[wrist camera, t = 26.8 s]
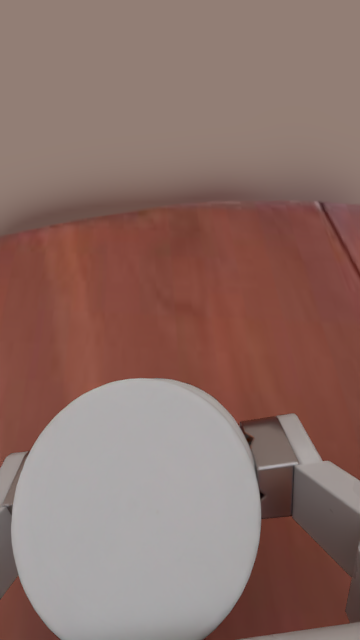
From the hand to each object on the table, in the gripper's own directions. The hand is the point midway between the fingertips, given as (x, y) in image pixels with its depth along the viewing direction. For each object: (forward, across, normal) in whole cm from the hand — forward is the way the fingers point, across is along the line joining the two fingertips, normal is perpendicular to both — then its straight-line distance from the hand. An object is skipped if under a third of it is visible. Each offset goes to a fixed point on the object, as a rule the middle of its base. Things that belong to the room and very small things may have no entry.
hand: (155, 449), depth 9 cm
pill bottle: (+3, 0, +4) cm, 5 cm away
